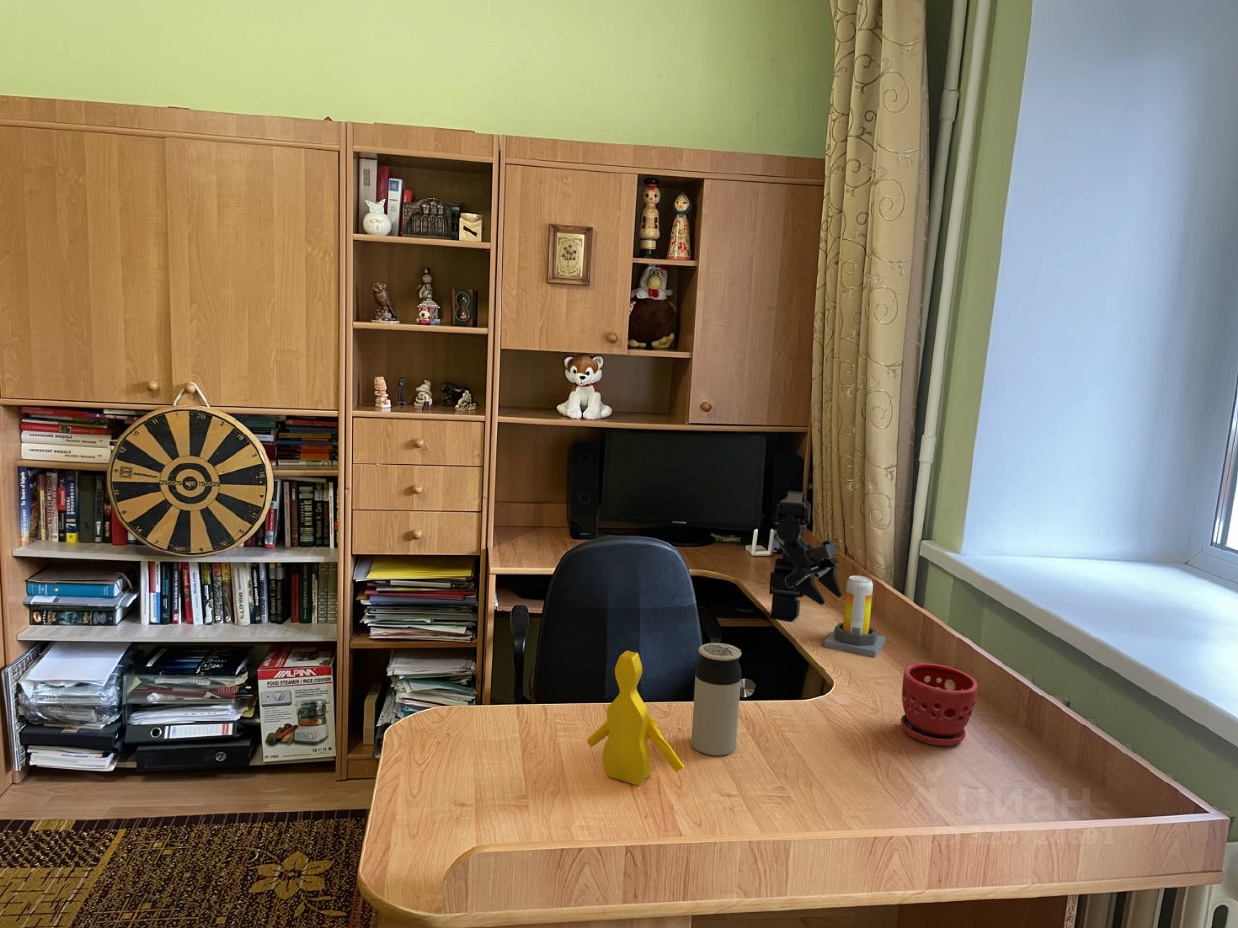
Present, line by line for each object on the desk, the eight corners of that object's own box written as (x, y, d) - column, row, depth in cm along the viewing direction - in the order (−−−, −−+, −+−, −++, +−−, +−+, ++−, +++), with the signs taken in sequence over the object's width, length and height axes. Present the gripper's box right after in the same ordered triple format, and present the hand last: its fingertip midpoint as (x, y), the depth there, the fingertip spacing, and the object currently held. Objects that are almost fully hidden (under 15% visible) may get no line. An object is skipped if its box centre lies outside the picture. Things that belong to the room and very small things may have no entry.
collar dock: (824, 646, 211) (825, 630, 210) (836, 632, 221) (837, 617, 221) (875, 657, 205) (876, 640, 205) (884, 642, 216) (886, 626, 215)
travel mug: (706, 760, 152) (713, 660, 149) (682, 740, 158) (688, 645, 156) (744, 752, 155) (751, 654, 153) (719, 733, 162) (725, 639, 159)
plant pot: (896, 743, 162) (902, 681, 160) (899, 715, 174) (905, 657, 172) (972, 758, 157) (979, 694, 155) (970, 728, 169) (976, 669, 168)
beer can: (865, 635, 216) (870, 576, 214) (869, 643, 210) (875, 583, 208) (840, 633, 217) (845, 574, 214) (844, 641, 211) (849, 581, 208)
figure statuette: (687, 781, 144) (695, 653, 141) (668, 803, 137) (676, 668, 134) (592, 753, 152) (598, 631, 149) (569, 772, 145) (575, 645, 142)
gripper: (799, 535, 210) (838, 590, 205) (835, 525, 225) (871, 576, 219) (768, 560, 217) (805, 614, 211) (804, 549, 231) (840, 599, 226)
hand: (832, 600), depth 217 cm, fingers open, 9 cm apart
